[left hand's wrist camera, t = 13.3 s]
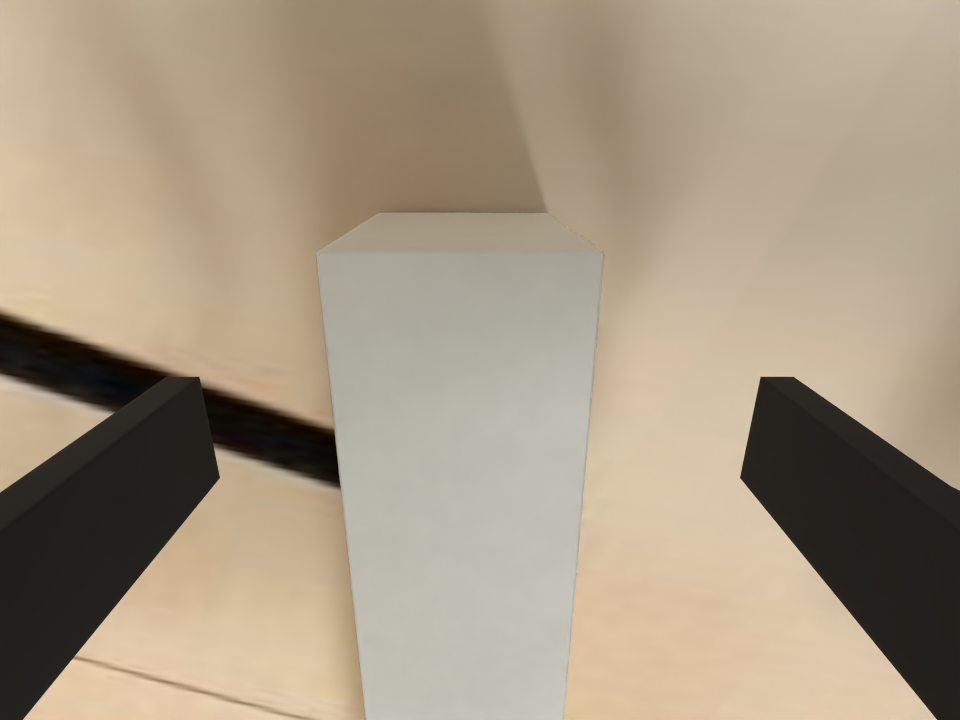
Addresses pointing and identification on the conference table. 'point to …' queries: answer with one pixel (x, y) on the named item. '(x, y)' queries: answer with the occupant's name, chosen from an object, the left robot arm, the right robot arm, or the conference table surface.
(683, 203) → the conference table surface
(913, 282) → the conference table surface
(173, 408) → the left robot arm
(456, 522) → the post
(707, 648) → the conference table surface
